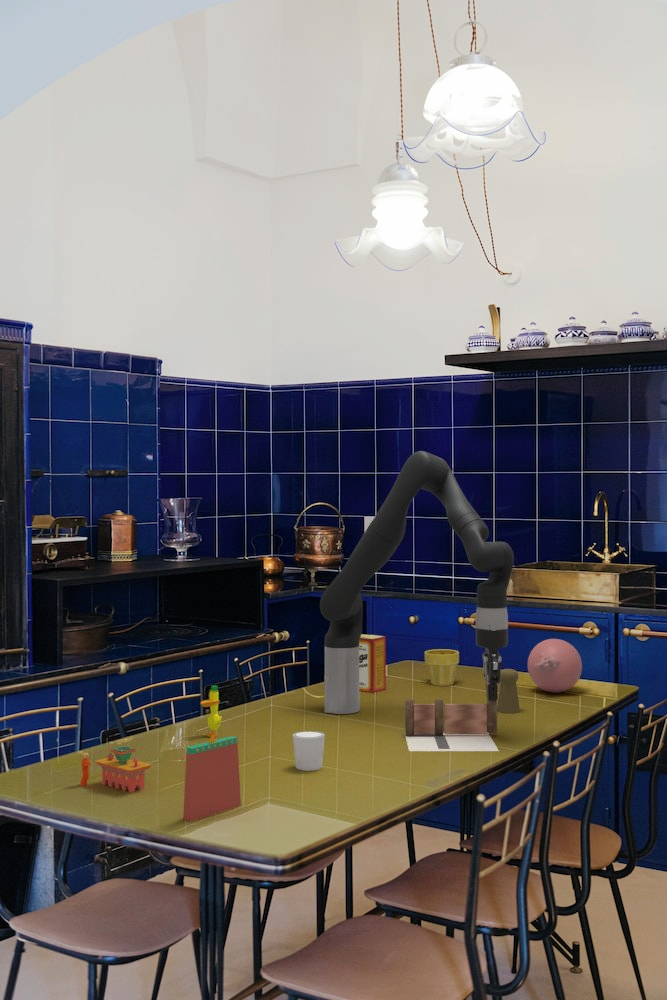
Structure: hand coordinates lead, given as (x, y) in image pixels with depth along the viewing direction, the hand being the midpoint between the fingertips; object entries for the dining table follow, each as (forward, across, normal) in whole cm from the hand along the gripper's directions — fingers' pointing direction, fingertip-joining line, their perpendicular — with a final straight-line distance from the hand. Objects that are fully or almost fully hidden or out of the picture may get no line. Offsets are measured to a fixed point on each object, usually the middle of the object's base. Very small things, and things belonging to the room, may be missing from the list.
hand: (491, 698), depth 254 cm
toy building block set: (+10, +48, -72) cm, 87 cm away
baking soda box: (+9, -60, -29) cm, 67 cm away
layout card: (+9, +6, -10) cm, 15 cm away
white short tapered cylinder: (+9, +27, -42) cm, 51 cm away
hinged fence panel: (+8, 0, -5) cm, 10 cm away
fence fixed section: (+9, 0, -16) cm, 18 cm away
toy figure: (+9, -1, -66) cm, 67 cm away
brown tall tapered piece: (+9, -30, +8) cm, 33 cm away
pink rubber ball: (+9, -54, +24) cm, 60 cm away
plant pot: (+9, -69, -6) cm, 70 cm away
